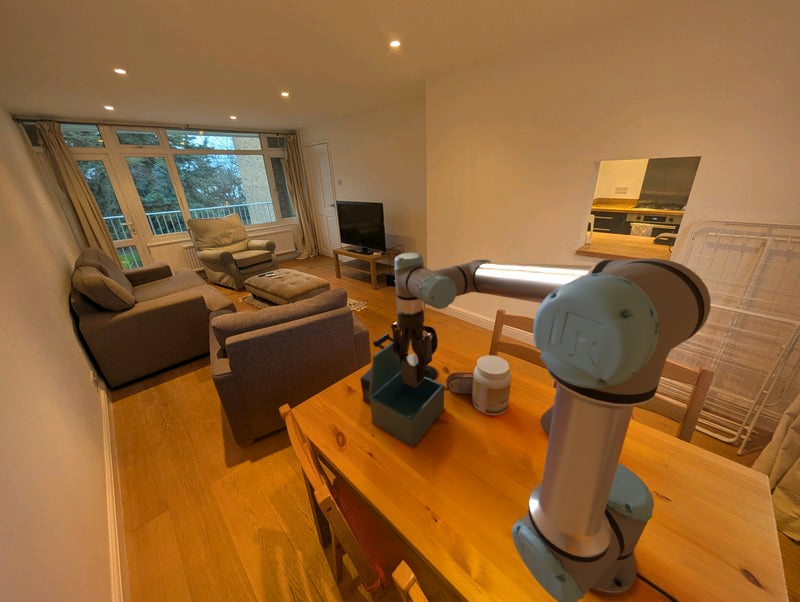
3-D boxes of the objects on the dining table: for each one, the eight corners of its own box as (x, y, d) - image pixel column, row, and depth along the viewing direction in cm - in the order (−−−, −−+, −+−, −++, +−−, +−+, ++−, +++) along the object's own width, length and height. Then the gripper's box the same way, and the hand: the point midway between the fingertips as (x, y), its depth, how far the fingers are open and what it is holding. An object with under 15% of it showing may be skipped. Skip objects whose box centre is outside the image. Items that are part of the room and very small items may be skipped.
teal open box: (443, 409, 101) (444, 385, 97) (412, 447, 88) (411, 420, 84) (405, 391, 111) (404, 367, 107) (372, 422, 98) (369, 397, 93)
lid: (412, 329, 97) (398, 321, 100) (375, 357, 84) (359, 346, 87) (405, 367, 106) (391, 358, 109) (370, 397, 93) (356, 386, 96)
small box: (378, 383, 116) (376, 361, 112) (392, 388, 113) (390, 366, 108) (362, 400, 108) (359, 377, 103) (376, 406, 105) (374, 382, 100)
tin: (486, 389, 109) (488, 371, 106) (488, 395, 106) (489, 376, 103) (445, 389, 110) (446, 371, 107) (446, 395, 108) (446, 376, 104)
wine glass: (409, 379, 117) (407, 336, 109) (415, 364, 126) (414, 323, 118) (434, 383, 114) (434, 339, 106) (439, 367, 123) (439, 326, 115)
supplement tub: (513, 401, 103) (519, 362, 96) (498, 423, 95) (503, 381, 88) (481, 387, 111) (484, 349, 104) (465, 406, 102) (467, 366, 96)
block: (424, 379, 92) (423, 358, 89) (415, 388, 88) (414, 366, 85) (411, 373, 95) (410, 352, 92) (402, 382, 91) (400, 360, 88)
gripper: (445, 311, 79) (444, 380, 88) (393, 297, 89) (397, 360, 99) (430, 322, 74) (431, 394, 83) (377, 306, 84) (383, 372, 93)
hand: (413, 376), depth 91 cm, fingers closed on block, 5 cm apart
